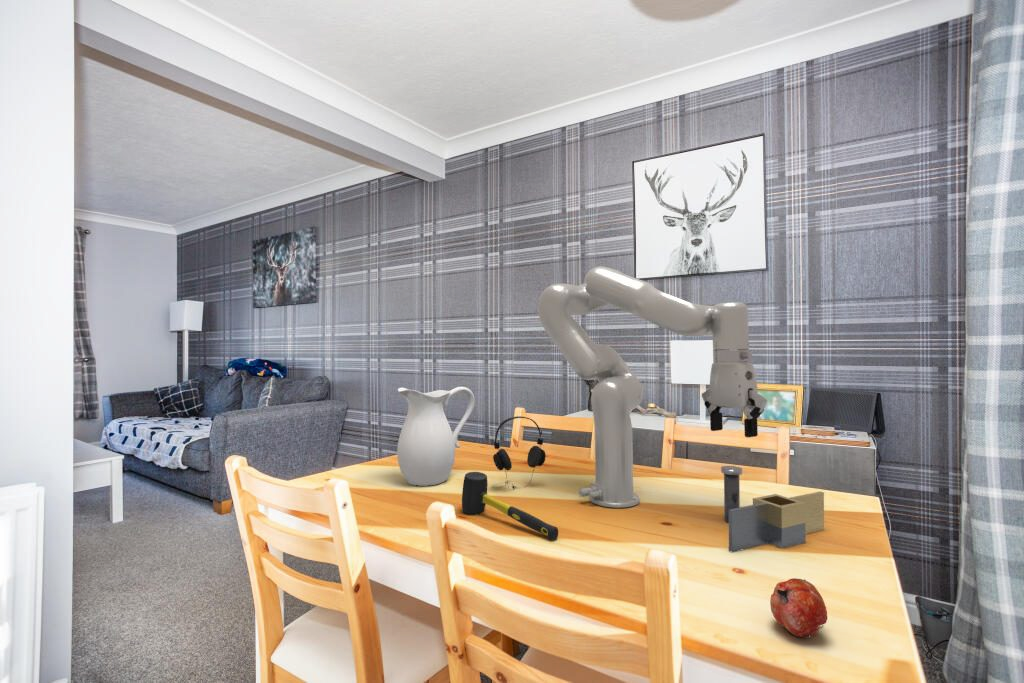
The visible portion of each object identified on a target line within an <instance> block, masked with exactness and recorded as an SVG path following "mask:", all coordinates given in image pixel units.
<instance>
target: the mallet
mask: <svg viewBox="0 0 1024 683" xmlns="http://www.w3.org/2000/svg"><path fill="white" fill-rule="evenodd" d="M462 484H463V485H462V491H461V492H462V493H461V511H462V512H463V513H464V514H466V515H469V516H476V515H475V514H478V515H481V514H480V513H482V512H483V513H484V512H485V510H486V505H487V506H490V507H493V508H494V509H496V510H498V511H500V512H501V513H503V514H504V515H505V516H508V517H510V518H512V519H514V520H515V521H517V522H519V523H520V524H522V525H524V526H526V527H528V528H530V529H531V530H534V531H535V532H537V533H541V534H542V535H544V536H545V537H547V538H548V539H549V540H551V541H553V540H554V541H556V540H557V538H558V537H559V528H558V527H557V526H555V525H552V524H549V523H547V522H546V521H544V520H541V519H539V518H538V517H536V516H533V515H532V514H530V513H528V512H526V511H523V510H521V509H519V508H516V507H514V506H512V505H510V504H508V503H505V502H503V501H501V500H499V499H496V498H494V497H492V496H491V495H489V494H488V476H487V474H486V473H484V472H481V471H470V472H467V473H465V474H464V479H463V483H462ZM483 513H482V514H483ZM555 539H556V540H555Z"/></svg>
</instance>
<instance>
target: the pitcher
mask: <svg viewBox="0 0 1024 683" xmlns="http://www.w3.org/2000/svg"><path fill="white" fill-rule="evenodd" d="M397 392H398V393H399V394H400V395H401V396H402V397H404V398H405V400H406V402H407V405H408V408H407V414H406V417H405V419H404V421H403V422H404V423H403V424H402V427H401V430H400V434H399V438H398V441H397V447H396V448H397V450H396V452H397V454H396V455H397V463H398V466H399V469H400V472H401V474H402V475H403V477H404V479H405V480H406V482H407V483H408V484H409V483H410V485H412V486H416V485H418V486H419V487H429V485H430V486H435V485H440V484H442V483H444V482H445V481H447V479H448V477H449V476H450V474H451V473H452V470H453V467H454V465H455V464H454V463H455V458H456V448H457V449H460V448H461V446H460V444H459V442H458V437H459V434H460V433H461V431H462V428H463V427H464V425H465V424H466V423H467V420H468V419H469V418H470V416H471V414H472V412H473V410H474V407H475V404H476V398H475V395H474V393H473V391H472V390H471V389H470V388H468V387H465V386H457V387H454V388H452V389H451V390H445V389H444V390H443V389H437V390H434V391H429V392H421V391H418V390H415V389H409V388H405V387H403V386H402V387H399V388H398V389H397ZM457 393H464V394H466V396H467V397H468V405H467V408H466V411H465V413H464V414H463V416H462V417H461V419H460V421H459V423H457V425H456V427H455V429H454V431H452V428H451V426H450V422H449V420H448V419H447V417H446V415H445V414H446V413H445V412H444V406H445V407H447V406H448V404H449V400H450V399H451V398H452V397H453V396H454V395H456V394H457Z"/></svg>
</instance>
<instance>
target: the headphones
mask: <svg viewBox="0 0 1024 683" xmlns="http://www.w3.org/2000/svg"><path fill="white" fill-rule="evenodd" d="M515 419H526V420H530V421H531V422H533V423H534V425H535V426H536V428H537V430H538V433H539V437H538V438H537V442H536V444H537V445H532V447H531V448H530V449H529V451H528V454H527V459H526V462H527V466H528V467H529V468H533V470H532V472H534V471H535V468H536V467H542V466H543V465H544V464H545V462H546V457H547V456H546V451H545V450H544V449H542V448H541V446H543V443H544V439H543V437H542V436H543V430H541V429H540V427H539V425H538V423H537V422H536V421H535V420H534V419H532V418H529V417H526V416H518V415H517V416H512V417H509V418H507V419H505V420H503V421H502V422H501V423H500V424H499V425H498V427H497V429H496V432H495V435H494V437H495V438H494V442H493V447H494V448H493V449H495V450H497V451H496V453H494V454H493V455H492V458H493V460H492V461H493V463H494V465H495V467H496V468H497V470H498V471H503V470H504V471H505V475H506V478H508V476H507V471H510V470H511V469H512V467H513V466H512V465H513V464H512V460H511V458H510V456H509V454H508V452H507V451H506V450H505V448H501V446H500V442H499V441H498V433H499V431H500V429H501V428H502V427H503V426H504V424H505V423H507V422H509V421H513V420H515ZM538 445H539V446H538ZM533 474H534V473H532V474H531V476H533ZM532 479H533V478H530V481H529V483H528V484H527V485H526V486H525V488H527V487H528V486H529V485H530V483H531V481H532ZM506 486H507V487H508V489H509V490H510V491H511V489H512V488H514V487H516V486H514V485H512V488H511V489H510V488H509V481H507V482H506ZM514 489H515V488H514Z"/></svg>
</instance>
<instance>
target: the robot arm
mask: <svg viewBox="0 0 1024 683" xmlns="http://www.w3.org/2000/svg"><path fill="white" fill-rule="evenodd" d="M608 305H611V306H613V307H616V308H618V309H620V310H622V311H625V312H628V313H630V314H632V315H634V316H636V317H638V318H641V319H642V320H645V321H647V322H649V323H652V324H653V325H656V326H658V327H660V328H662V329H666V330H668V331H670V332H673V333H675V334H677V335H680V336H684V337H702V336H709V335H712V359H713V360H712V361H713V363H712V364H711V369H710V375H709V376H710V377H709V389H707V390H705V391H704V392H702V393H701V397H702V400H703V402H704V406H705V407H706V409H707V413H708V414H709V417H710V418H709V420H710V422H709V426H710V428H709V429H710V431H711V432H716V431H718V432H719V431H722V430H723V428H724V427H723V426H724V425H723V424H724V422H723V413H722V412H721V411H722V409H723V408H726V409H734V410H741V411H742V412H743V414H744V416H745V417H746V418H744V421H743V422H744V423H743V424H744V425H743V426H744V437H745V438H754V437H757V436H758V434H759V433H758V419H760V418H761V415H762V414H763V412H764V411H765V407H766V406H767V403H768V399H767V398H765V397H764V396H762V395H761V394H759V392H758V391H759V390H758V383H757V377H756V376H757V375H756V371H755V368H754V365H753V364H754V363H750V359H752V358H753V353H752V352H750V341H749V340H750V338H749V309H748V306H747V304H746V303H744V302H738V301H736V302H733V301H732V302H721V303H716V304H715V305H705V304H698V303H693V302H689V301H687V300H684V299H682V298H679V297H676V296H673V295H671V294H668V293H666V292H664V291H661V290H659V289H657V288H655V287H654V285H653V284H652V283H649V282H648V281H644V280H641V279H639V278H637V277H633V276H631V275H629V274H626V273H623V272H621V271H620V270H618V269H614V268H611V267H607V266H595V267H593V268H591V269H590V270H589V271H588V272H587V273H586V274H585V276H584V280H583V283H581V284H579V285H574V284H568V283H565V282H564V283H563V282H562V283H561V282H560V283H553V284H551V285H549V286H547V287H546V288H545V289H544V290H543V292H542V293H541V295H540V297H539V301H538V306H537V307H538V310H537V311H538V318H539V321H540V324H541V325H542V328H543V330H544V331H545V332H546V334H547V335H548V337H550V339H551V340H552V342H553V343H554V344H555V346H556V347H557V349H558V350H559V351H560V354H561V355H562V356H563V357H564V358H565V360H566V361H567V363H568V365H569V366H570V367H571V368H572V370H573V371H574V373H575V374H576V375H577V376H578V377H579V378H580V379H581V380H585V381H594V380H597V383H596V384H595V385H594V387H593V389H592V391H591V398H590V403H591V408H592V416H593V423H594V424H593V426H594V471H595V472H594V473H595V475H594V476H595V477H594V478H595V480H594V482H593V481H592V482H591V486H589V487H584V488H579V490H578V494H579V497H589V498H588V499H589V501H590V502H591V503H592V504H595V505H597V506H600V507H606V508H613V509H614V508H617V509H621V508H622V509H623V508H631V507H634V506H637V505H638V504H639V503H640V499H641V498H640V496H639V494H637V493H635V492H634V458H633V457H634V456H633V455H634V448H633V445H634V443H633V442H634V441H633V426H632V425H633V424H632V419H631V415H630V411H631V410H634V409H636V408H637V407H638V406H639V405H640V404H641V403H642V401H643V399H644V389H643V385H642V384H641V382H640V380H639V379H638V377H637V376H636V374H635V373H634V372H633V371H632V370H631V368H630V367H629V366H628V364H627V363H626V362H625V360H624V359H623V357H622V356H621V355H620V354H619V353H618V351H616V350H615V349H614V348H612V347H611V346H610V345H607V344H602V343H595V341H593V340H592V338H591V337H590V336H589V334H587V332H586V331H585V329H584V328H583V327H582V325H581V324H580V323H578V321H577V320H575V319H574V317H576V316H577V317H579V316H584V315H587V314H589V313H592V312H593V311H596V310H598V309H601V308H603V307H606V306H608ZM572 316H573V317H572Z"/></svg>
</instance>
